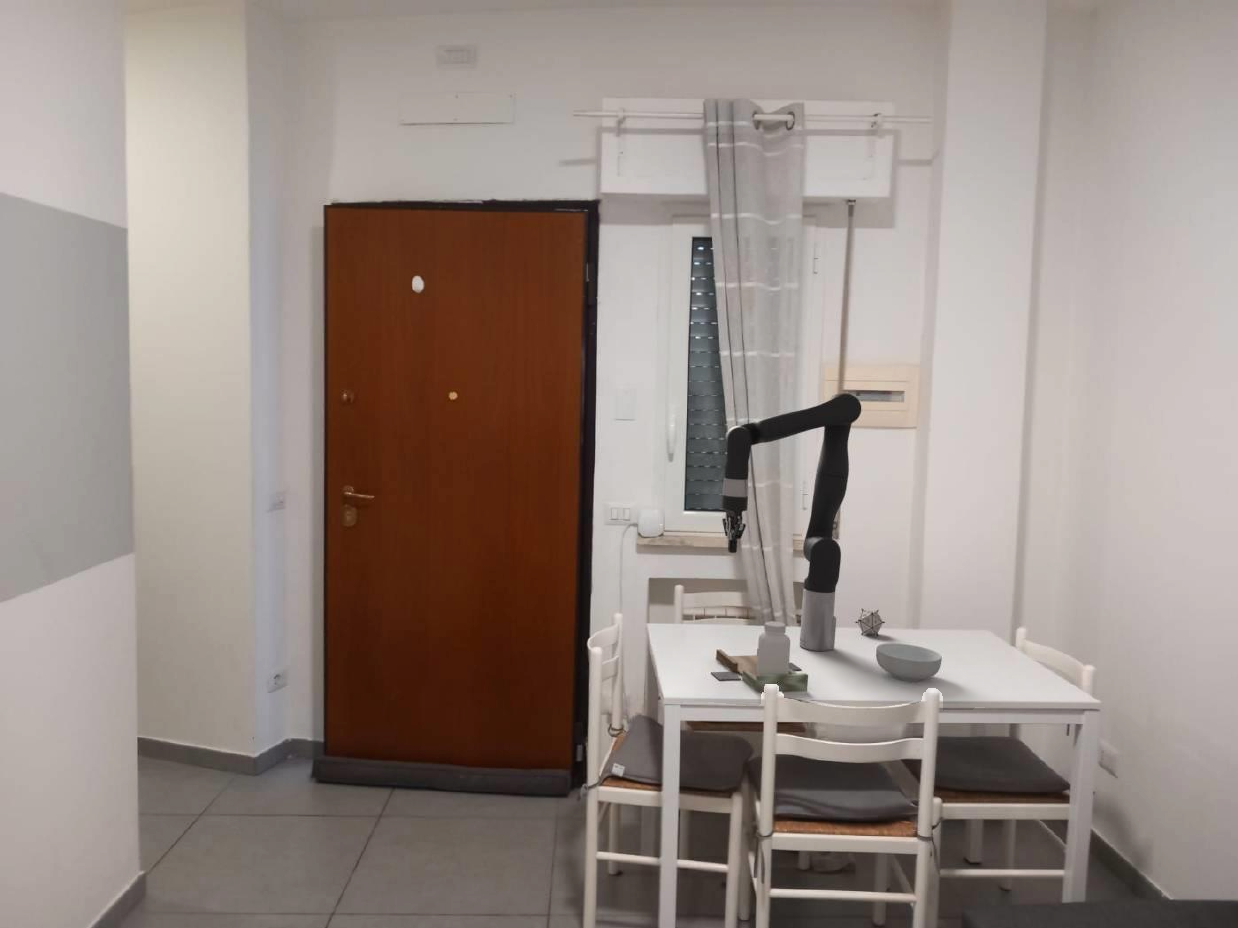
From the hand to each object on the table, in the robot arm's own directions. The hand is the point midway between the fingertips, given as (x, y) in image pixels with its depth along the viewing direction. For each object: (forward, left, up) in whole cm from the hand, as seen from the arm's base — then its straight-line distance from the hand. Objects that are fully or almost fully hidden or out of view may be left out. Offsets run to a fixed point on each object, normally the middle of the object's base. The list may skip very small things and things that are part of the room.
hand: (732, 552), depth 259 cm
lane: (+3, +30, -27) cm, 40 cm away
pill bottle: (+3, +39, -26) cm, 47 cm away
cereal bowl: (-37, +37, -27) cm, 59 cm away
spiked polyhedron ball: (-50, -4, -27) cm, 57 cm away
